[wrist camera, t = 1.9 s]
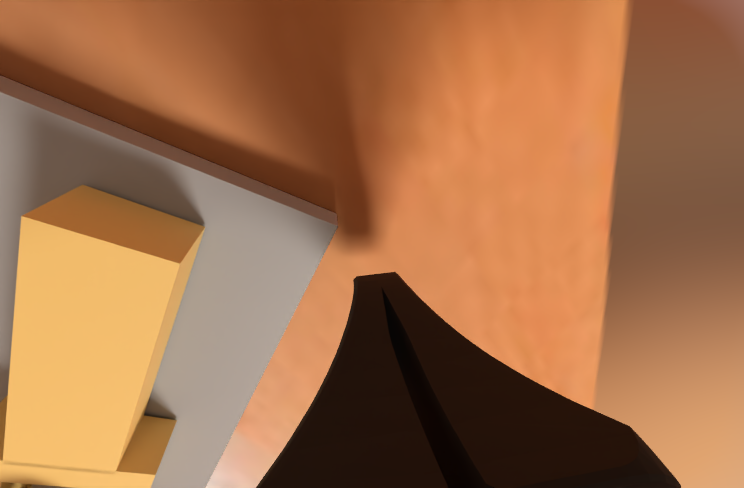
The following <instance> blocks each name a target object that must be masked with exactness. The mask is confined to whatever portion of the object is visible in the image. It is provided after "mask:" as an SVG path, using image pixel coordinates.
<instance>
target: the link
mask: <svg viewBox="0 0 744 488" xmlns="http://www.w3.org/2000/svg"><path fill="white" fill-rule="evenodd" d="M204 229H205V227H204V226H201V225H198V224H195V223H193V222H190V221H187V220H184V219H181V218H178V217H175V216H172V215H169V214H166V213H164V212H161V211H158V210H155V209H152V208H149V207H146V206H143V205H140V204H137V203H135V202H132V201H129V200H126V199H123V198H120V197H117V196H114V195H111V194H108V193H106V192H103V191H100V190H97V189H94V188H91V187H88V186H85V185H81V186H79V187H77V188H75V189H73V190H71V191H69V192H67V193H65V194H63V195H61V196H59V197H57V198H56V199H54V200H52V201H50V202H48V203H46V204H44V205H42V206H40V207H38V208H36V209H34V210H32V211H30V212H28V213H26V214H24V215H22V216H21V228H20V241H19V254H18V267H17V280H16V293H15V307H14V320H13V333H12V346H11V359H10V372H9V385H8V395H7V396H6V397H5V398H4V399H3V400H2V401H1V402H0V488H31V486H32V485H33V484H34V485H47V486H60V487H73V488H151V485H152V483H153V480H154V478H155V475H156V473H157V470H158V468H159V465H160V463H161V460H162V457H163V455H164V452H165V450H166V447H167V445H168V442H169V440H170V437H171V435H172V432H173V429H174V427H175V424H176V422H177V420H171V419H164V418H158V417H151V416H144V413H145V410H146V406H147V403H148V400H149V397H150V394H151V391H152V388H153V385H154V382H155V379H156V376H157V373H158V370H159V367H160V364H161V361H162V358H163V355H164V352H165V349H166V345H167V342H168V339H169V336H170V333H171V330H172V327H173V324H174V321H175V318H176V315H177V312H178V309H179V306H180V303H181V300H182V297H183V294H184V291H185V287H186V284H187V281H188V278H189V275H190V272H191V269H192V266H193V263H194V260H195V257H196V254H197V251H198V248H199V245H200V242H201V239H202V236H203V233H204Z"/></svg>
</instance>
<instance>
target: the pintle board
mask: <svg viewBox="0 0 744 488" xmlns="http://www.w3.org/2000/svg"><path fill="white" fill-rule="evenodd" d="M81 185H85V186H88V187H91V188H94V189H97V190H100V191H103V192H106V193H108V194H111V195H114V196H117V197H120V198H123V199H126V200H129V201H132V202H135V203H137V204H140V205H143V206H146V207H149V208H152V209H155V210H158V211H161V212H164V213H166V214H169V215H172V216H175V217H178V218H181V219H184V220H187V221H190V222H193V223H195V224H198V225H201V226H204V227H205V229H204V233H203V236H202V239H201V242H200V245H199V248H198V251H197V254H196V257H195V260H194V263H193V266H192V269H191V272H190V275H189V278H188V281H187V284H186V287H185V291H184V294H183V297H182V300H181V303H180V306H179V309H178V312H177V315H176V318H175V321H174V324H173V327H172V330H171V333H170V336H169V339H168V342H167V345H166V349H165V352H164V355H163V358H162V361H161V364H160V367H159V370H158V373H157V376H156V379H155V382H154V385H153V388H152V391H151V394H150V397H149V400H148V403H147V406H146V410H145V413H144V416H151V417H158V418H164V419H171V420H177V422H176V424H175V427H174V429H173V432H172V435H171V437H170V440H169V442H168V445H167V447H166V450H165V452H164V455H163V457H162V460H161V463H160V465H159V468H158V470H157V473H156V475H155V478H154V480H153V483H152V485H151V488H205V487H206V485H207V483H208V481H209V479H210V477H211V475H212V474H213V472H214V470H215V468H216V466H217V464H218V462H219V460H220V458H221V456H222V454H223V452H224V450H225V448H226V446H227V444H228V442H229V440H230V438H231V436H232V434H233V432H234V430H235V428H236V426H237V424H238V422H239V420H240V418H241V416H242V414H243V413H244V411H245V409H246V407H247V405H248V403H249V401H250V399H251V397H252V395H253V393H254V391H255V389H256V387H257V385H258V383H259V381H260V379H261V377H262V375H263V373H264V371H265V369H266V367H267V365H268V363H269V361H270V359H271V357H272V355H273V353H274V351H275V350H276V348H277V346H278V344H279V342H280V340H281V338H282V336H283V334H284V332H285V330H286V328H287V326H288V324H289V322H290V320H291V318H292V316H293V314H294V312H295V310H296V308H297V306H298V304H299V302H300V300H301V298H302V296H303V294H304V292H305V290H306V288H307V287H308V285H309V283H310V281H311V279H312V277H313V275H314V273H315V271H316V269H317V267H318V265H319V263H320V261H321V259H322V257H323V255H324V253H325V251H326V249H327V247H328V245H329V243H330V241H331V239H332V237H333V235H334V233H335V231H336V229H337V227H338V222H337V214H336V213H334V212H332V211H329V210H327V209H324V208H322V207H319V206H317V205H315V204H312V203H310V202H307V201H305V200H302V199H300V198H298V197H295V196H293V195H290V194H288V193H285V192H283V191H281V190H278V189H276V188H273V187H271V186H268V185H266V184H263V183H261V182H259V181H256V180H254V179H251V178H249V177H246V176H244V175H242V174H239V173H237V172H234V171H232V170H229V169H227V168H225V167H222V166H220V165H217V164H215V163H212V162H210V161H208V160H205V159H203V158H200V157H198V156H195V155H193V154H191V153H188V152H186V151H183V150H181V149H178V148H176V147H174V146H171V145H169V144H166V143H164V142H161V141H159V140H157V139H154V138H152V137H149V136H147V135H144V134H142V133H140V132H137V131H135V130H132V129H130V128H127V127H125V126H123V125H120V124H118V123H115V122H113V121H110V120H108V119H105V118H103V117H101V116H98V115H96V114H93V113H91V112H88V111H86V110H84V109H81V108H79V107H76V106H74V105H71V104H69V103H67V102H64V101H62V100H59V99H57V98H54V97H52V96H50V95H47V94H45V93H42V92H40V91H37V90H35V89H33V88H30V87H28V86H25V85H23V84H20V83H18V82H16V81H13V80H11V79H8V78H6V77H3V76H1V75H0V402H1V401H2V400H3V399H4V398H5V397H6V396H7V395H8V385H9V372H10V359H11V346H12V333H13V320H14V307H15V293H16V280H17V267H18V254H19V241H20V228H21V216H22V215H24V214H26V213H28V212H30V211H32V210H34V209H36V208H38V207H40V206H42V205H44V204H46V203H48V202H50V201H52V200H54V199H56V198H57V197H59V196H61V195H63V194H65V193H67V192H69V191H71V190H73V189H75V188H77V187H79V186H81ZM31 488H73V487H60V486H47V485H34V484H33V485H32V486H31Z"/></svg>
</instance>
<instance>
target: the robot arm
mask: <svg viewBox="0 0 744 488" xmlns="http://www.w3.org/2000/svg"><path fill="white" fill-rule="evenodd" d="M256 488H681V485H680V484H679V482H678V481H677V479H676V478H675V477H674V476H673V475H672V473H671V472H670V471H669V470H668V469H667V468H666V466H665V465H664V464H663V463H662V462H661V460H660V459H659V458H658V457H657V456H656V455H655V453H654V452H653V451H652V450H651V449H650V448H649V447H648V445H646V443H645V442H644V441H643V440H642V439H641V438H640V437H639V436H638V435H637V434H636V432H634V431H633V429H632V428H631V427H630V426H628V425H625V424H623V423H621V422H619V421H616V420H614V419H612V418H610V417H607V416H605V415H603V414H601V413H598V412H596V411H594V410H592V409H589V408H587V407H585V406H583V405H580V404H578V403H576V402H574V401H572V400H570V399H567V398H565V397H564V396H562V395H560V394H558V393H556V392H554V391H552V390H550V389H548V388H546V387H544V386H542V385H540V384H538V383H536V382H534V381H533V380H531V379H529V378H527V377H525V376H524V375H522V374H520V373H518V372H517V371H515V370H513V369H512V368H510V367H508V366H507V365H505V364H503V363H502V362H500V361H498V360H497V359H495V358H494V357H492V356H491V355H489V354H487V353H486V352H484V351H483V350H482V349H480V348H479V347H477V346H476V345H475V344H473V343H472V342H470V341H469V340H468V339H466V338H465V337H464V336H462V335H461V334H460V333H459V332H457V331H456V330H455V329H454V328H452V327H451V326H450V325H449V324H448V323H446V322H445V321H444V320H443V319H442V318H441V317H440V316H438V315H437V314H436V313H435V312H434V311H433V310H432V309H431V308H430V307H429V306H428V305H427V304H426V303H424V302H423V301H422V300H421V299H420V298H419V297H418V296H417V295H416V293H415V292H414V291H413V290H412V289H411V288H410V287H409V286H408V285H407V284H406V283H405V282H404V281H403V280H402V278H401V277H400V276H399V275H398V274H397V273H396V272H391V273H382V274H374V275H365V276H357V277H356V278H355V279H354V294H353V300H352V305H351V309H350V313H349V317H348V321H347V325H346V328H345V331H344V333H343V336H342V339H341V342H340V345H339V348H338V350H337V353H336V355H335V357H334V360H333V362H332V364H331V366H330V369H329V371H328V373H327V375H326V377H325V379H324V381H323V383H322V385H321V387H320V389H319V391H318V393H317V395H316V397H315V398H314V400H313V402H312V404H311V406H310V407H309V409H308V411H307V412H306V414H305V416H304V417H303V419H302V420H301V422H300V424H299V425H298V427H297V429H296V430H295V432H294V433H293V435H292V437H291V438H290V440H289V441H288V443H287V444H286V446H285V447H284V449H283V451H282V452H281V453H280V455H279V456H278V458H277V459H276V460H275V462H274V463H273V465H272V466H271V467H270V469H269V470H268V472H267V473H266V474H265V476H264V477H263V479H262V480H261V481H260V483H259V484H258V486H257V487H256Z"/></svg>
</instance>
